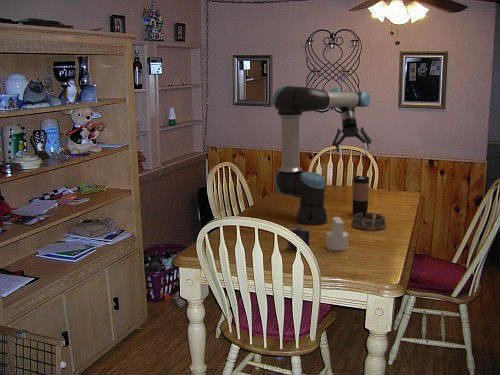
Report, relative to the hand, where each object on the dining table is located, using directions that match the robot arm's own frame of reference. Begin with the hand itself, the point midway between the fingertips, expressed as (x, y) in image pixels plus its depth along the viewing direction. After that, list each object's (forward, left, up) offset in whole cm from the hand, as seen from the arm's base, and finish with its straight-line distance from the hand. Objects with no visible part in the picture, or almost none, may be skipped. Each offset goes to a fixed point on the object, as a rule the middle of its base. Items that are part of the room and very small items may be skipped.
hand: (353, 155), depth 286 cm
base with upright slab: (-46, -43, -28) cm, 69 cm away
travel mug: (-6, -13, -28) cm, 32 cm away
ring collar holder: (-14, -28, -28) cm, 42 cm away
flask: (-62, -37, -28) cm, 78 cm away
